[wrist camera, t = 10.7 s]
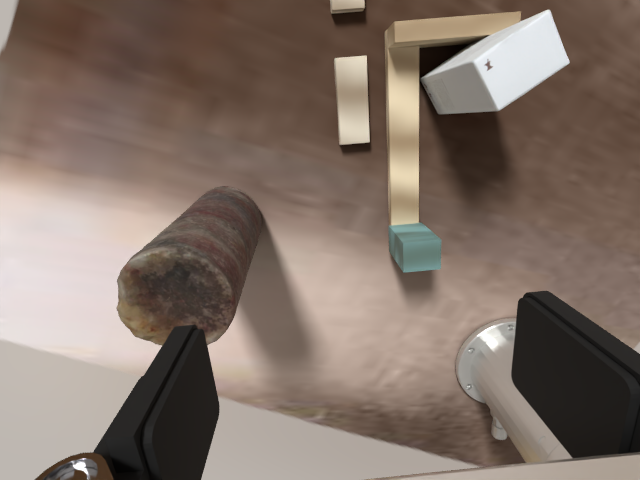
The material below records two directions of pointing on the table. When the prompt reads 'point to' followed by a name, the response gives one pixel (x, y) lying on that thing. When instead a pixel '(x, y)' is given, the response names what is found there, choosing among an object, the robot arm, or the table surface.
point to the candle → (192, 269)
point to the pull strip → (403, 125)
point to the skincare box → (497, 68)
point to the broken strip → (351, 87)
